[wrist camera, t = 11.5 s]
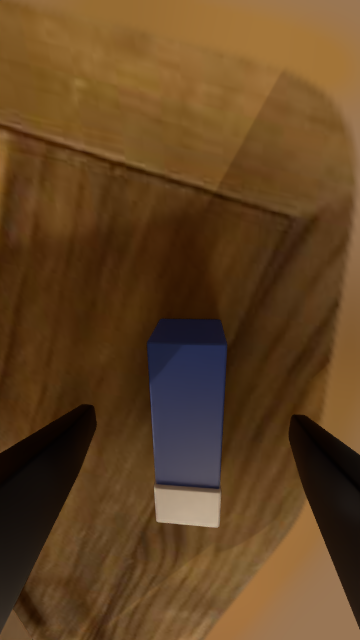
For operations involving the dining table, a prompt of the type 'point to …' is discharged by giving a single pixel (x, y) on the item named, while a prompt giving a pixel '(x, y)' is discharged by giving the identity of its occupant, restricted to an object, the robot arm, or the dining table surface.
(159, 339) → the eraser
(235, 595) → the dining table surface
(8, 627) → the drawer
